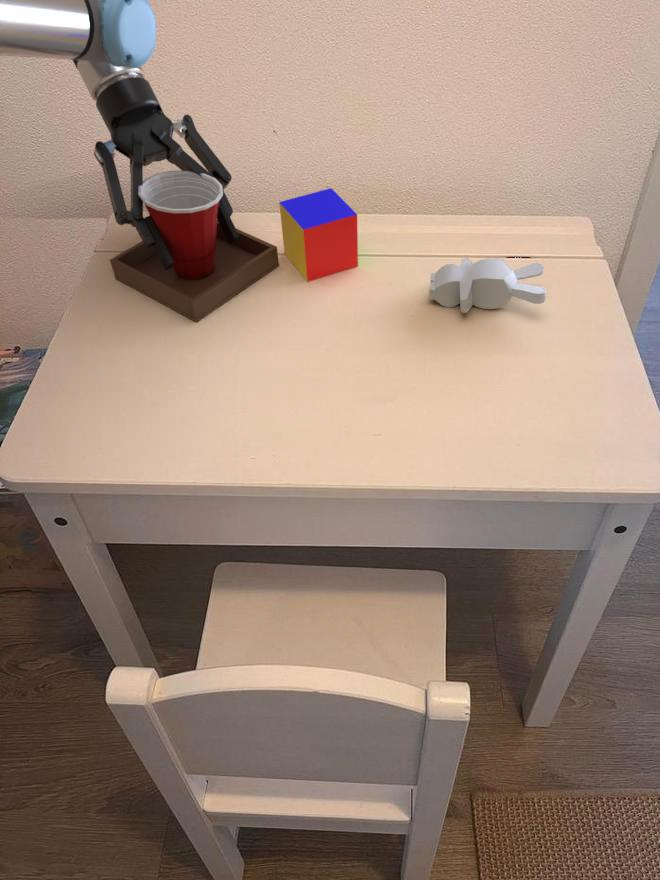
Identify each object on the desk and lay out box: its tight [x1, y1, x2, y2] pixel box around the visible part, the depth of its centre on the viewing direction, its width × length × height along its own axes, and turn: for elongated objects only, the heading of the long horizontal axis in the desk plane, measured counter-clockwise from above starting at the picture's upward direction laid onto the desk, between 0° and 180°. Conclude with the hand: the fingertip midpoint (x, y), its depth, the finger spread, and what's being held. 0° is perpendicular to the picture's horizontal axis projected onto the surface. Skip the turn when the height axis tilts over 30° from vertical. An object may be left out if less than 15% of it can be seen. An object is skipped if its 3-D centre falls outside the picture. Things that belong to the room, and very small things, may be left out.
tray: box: [109, 220, 280, 323], centre depth 101 cm, size 16×16×3 cm
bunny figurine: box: [429, 257, 547, 314], centre depth 96 cm, size 10×5×15 cm
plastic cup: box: [138, 170, 223, 279], centre depth 97 cm, size 11×11×12 cm
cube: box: [279, 187, 359, 282], centre depth 101 cm, size 8×8×8 cm
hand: (202, 253), depth 97 cm, fingers closed on plastic cup, 9 cm apart
